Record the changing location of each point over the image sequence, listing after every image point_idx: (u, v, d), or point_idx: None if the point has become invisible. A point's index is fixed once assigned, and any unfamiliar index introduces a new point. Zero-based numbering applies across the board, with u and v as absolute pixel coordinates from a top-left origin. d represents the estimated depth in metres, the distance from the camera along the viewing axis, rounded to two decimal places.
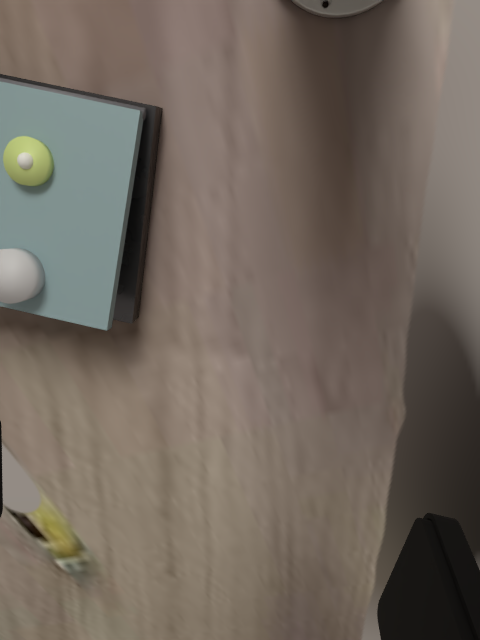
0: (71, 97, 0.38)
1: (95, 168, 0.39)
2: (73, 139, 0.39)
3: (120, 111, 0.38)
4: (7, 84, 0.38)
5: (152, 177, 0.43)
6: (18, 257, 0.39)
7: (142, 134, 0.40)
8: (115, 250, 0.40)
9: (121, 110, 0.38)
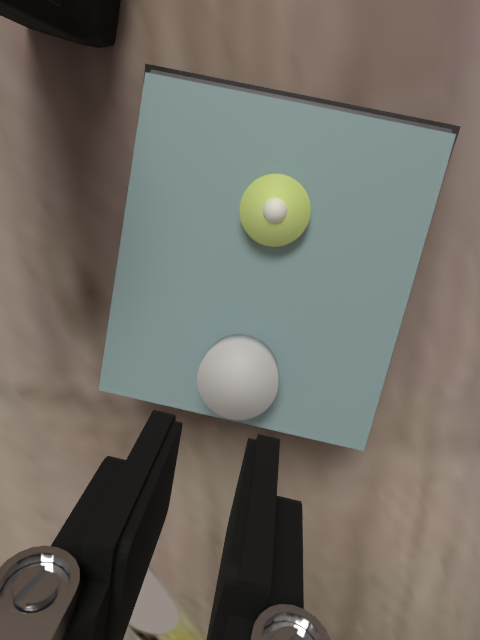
0: (348, 114, 0.25)
1: (374, 220, 0.26)
2: (344, 177, 0.26)
3: (424, 135, 0.25)
4: (248, 95, 0.25)
5: None
6: (257, 354, 0.26)
7: None
8: (391, 339, 0.27)
9: (426, 133, 0.25)
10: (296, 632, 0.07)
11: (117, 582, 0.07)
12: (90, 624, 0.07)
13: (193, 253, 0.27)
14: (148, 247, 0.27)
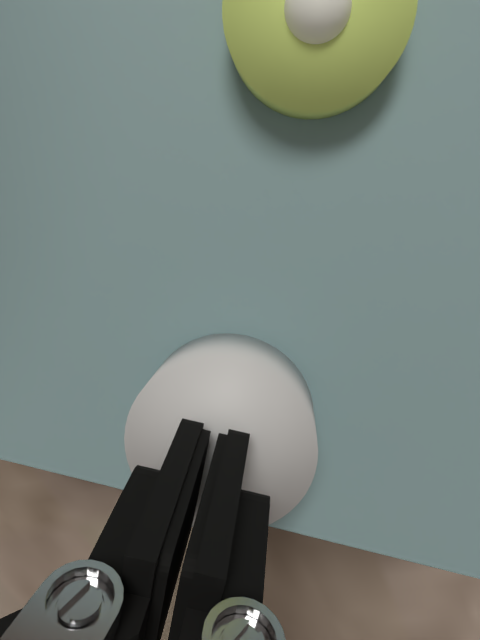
0: None
1: None
2: None
3: None
4: None
5: None
6: (268, 388, 0.11)
7: None
8: None
9: None
10: (250, 624, 0.07)
11: (157, 596, 0.07)
12: None
13: (115, 143, 0.11)
14: (11, 129, 0.12)
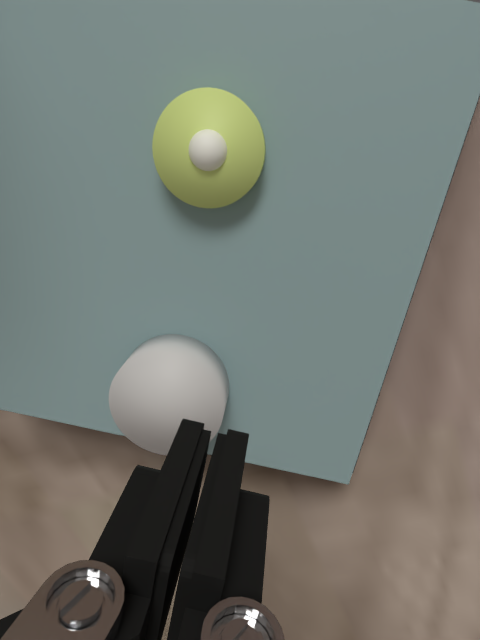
0: None
1: (367, 163, 0.17)
2: (319, 91, 0.16)
3: (453, 12, 0.15)
4: None
5: None
6: (191, 369, 0.18)
7: None
8: (390, 340, 0.19)
9: (457, 9, 0.15)
10: (248, 624, 0.07)
11: (158, 596, 0.07)
12: None
13: (94, 219, 0.18)
14: (28, 210, 0.18)
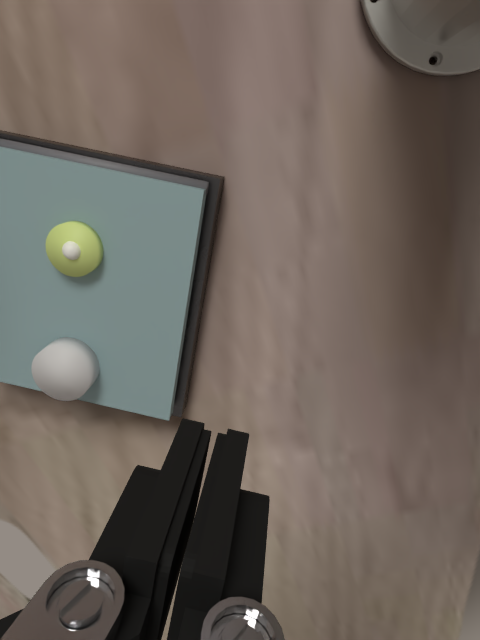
0: (120, 174, 0.32)
1: (152, 255, 0.33)
2: (125, 222, 0.33)
3: (180, 191, 0.32)
4: (43, 158, 0.32)
5: (210, 255, 0.36)
6: (71, 356, 0.35)
7: None
8: (177, 342, 0.36)
9: (181, 190, 0.31)
10: (248, 624, 0.07)
11: (158, 596, 0.07)
12: None
13: (23, 278, 0.35)
14: None
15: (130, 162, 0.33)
